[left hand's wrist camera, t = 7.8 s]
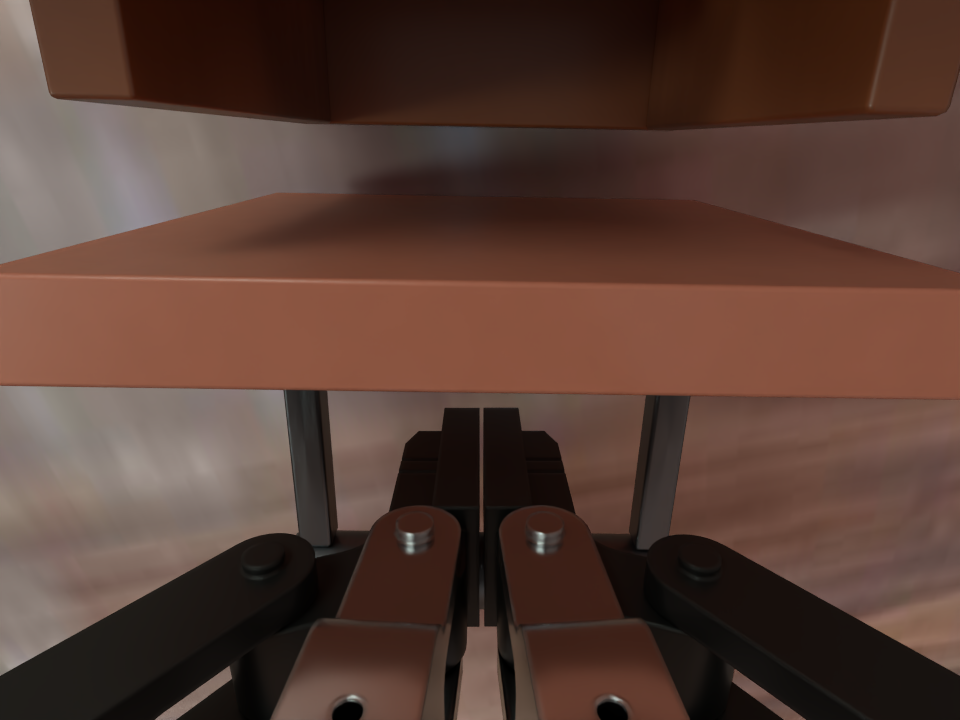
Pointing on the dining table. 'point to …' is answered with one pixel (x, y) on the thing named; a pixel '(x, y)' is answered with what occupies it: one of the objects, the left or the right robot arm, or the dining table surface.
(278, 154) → the dining table surface
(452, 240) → the drawer
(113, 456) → the dining table surface
